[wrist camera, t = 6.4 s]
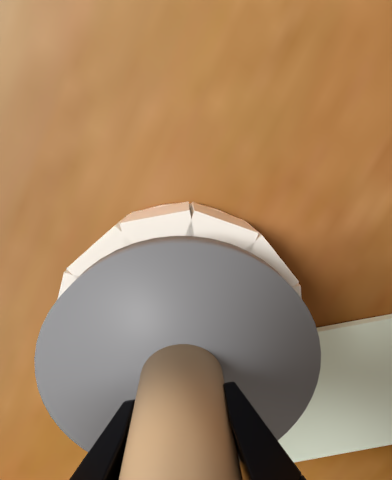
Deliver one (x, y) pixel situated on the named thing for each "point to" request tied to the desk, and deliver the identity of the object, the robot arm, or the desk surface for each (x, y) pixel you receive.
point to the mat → (348, 393)
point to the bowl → (179, 224)
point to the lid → (177, 354)
